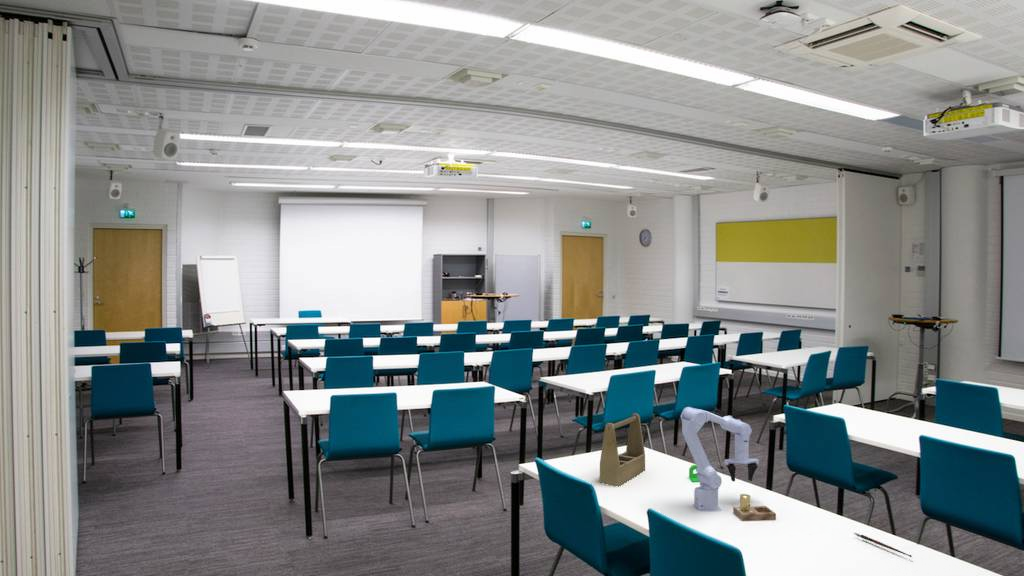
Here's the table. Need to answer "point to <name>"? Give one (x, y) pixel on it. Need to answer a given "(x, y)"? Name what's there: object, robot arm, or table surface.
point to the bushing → (745, 502)
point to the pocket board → (755, 513)
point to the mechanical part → (691, 475)
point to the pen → (879, 543)
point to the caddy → (627, 463)
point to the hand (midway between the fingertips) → (741, 480)
